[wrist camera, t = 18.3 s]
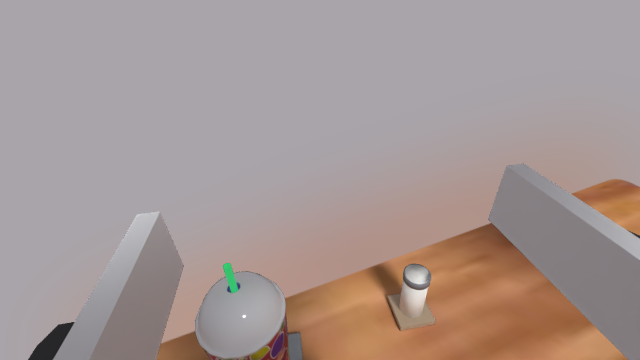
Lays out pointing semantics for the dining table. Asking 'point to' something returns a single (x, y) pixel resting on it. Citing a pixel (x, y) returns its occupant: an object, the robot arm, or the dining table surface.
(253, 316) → the smoothie
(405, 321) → the post
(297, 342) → the mat
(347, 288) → the dining table surface
